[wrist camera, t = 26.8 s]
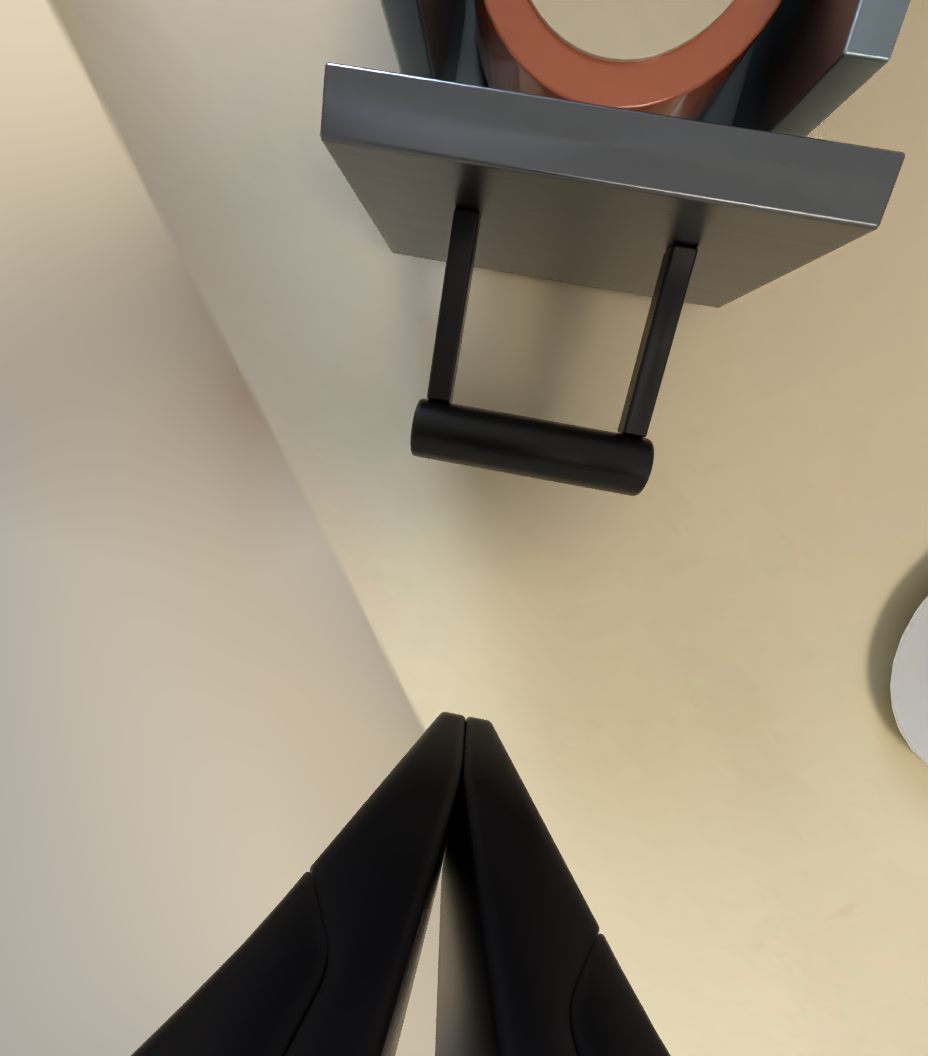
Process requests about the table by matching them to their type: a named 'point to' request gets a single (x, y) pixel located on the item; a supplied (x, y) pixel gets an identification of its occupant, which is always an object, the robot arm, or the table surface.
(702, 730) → the table surface
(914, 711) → the pudding
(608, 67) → the round tin
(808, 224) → the drawer
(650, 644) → the table surface
